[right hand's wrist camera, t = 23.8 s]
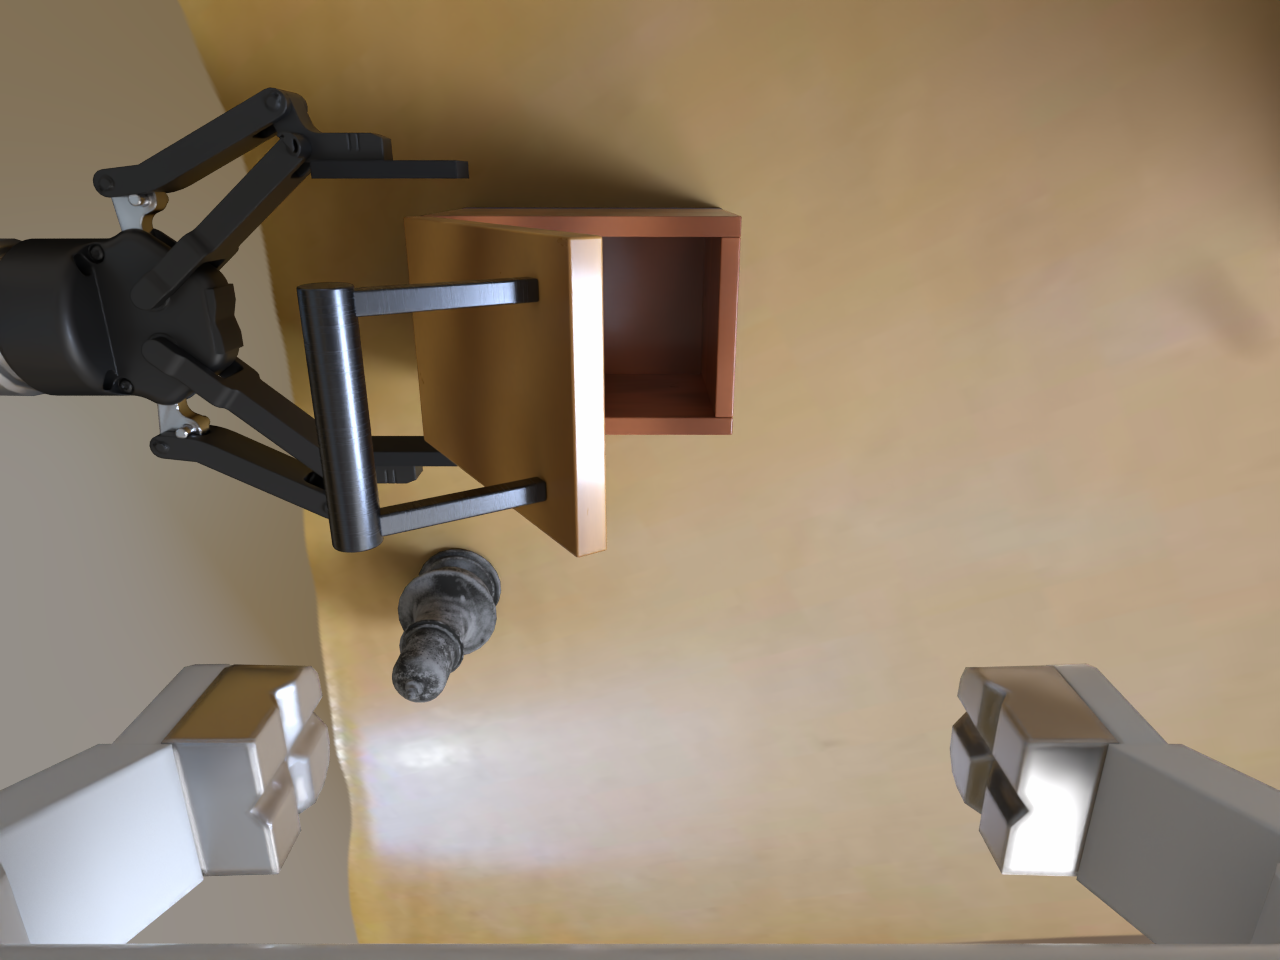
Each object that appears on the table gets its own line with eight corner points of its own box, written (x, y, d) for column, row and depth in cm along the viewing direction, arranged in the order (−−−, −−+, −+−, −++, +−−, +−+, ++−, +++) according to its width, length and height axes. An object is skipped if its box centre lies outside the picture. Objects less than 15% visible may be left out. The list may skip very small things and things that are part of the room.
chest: (720, 208, 45) (741, 215, 35) (714, 384, 48) (732, 435, 39) (465, 207, 45) (419, 215, 35) (478, 384, 48) (438, 435, 39)
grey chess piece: (440, 639, 54) (386, 761, 42) (396, 564, 52) (328, 671, 41) (521, 608, 53) (488, 724, 42) (479, 531, 51) (434, 631, 40)
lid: (603, 235, 23) (309, 247, 19) (607, 550, 27) (358, 616, 23) (428, 216, 35) (223, 220, 31) (447, 436, 38) (264, 466, 34)
